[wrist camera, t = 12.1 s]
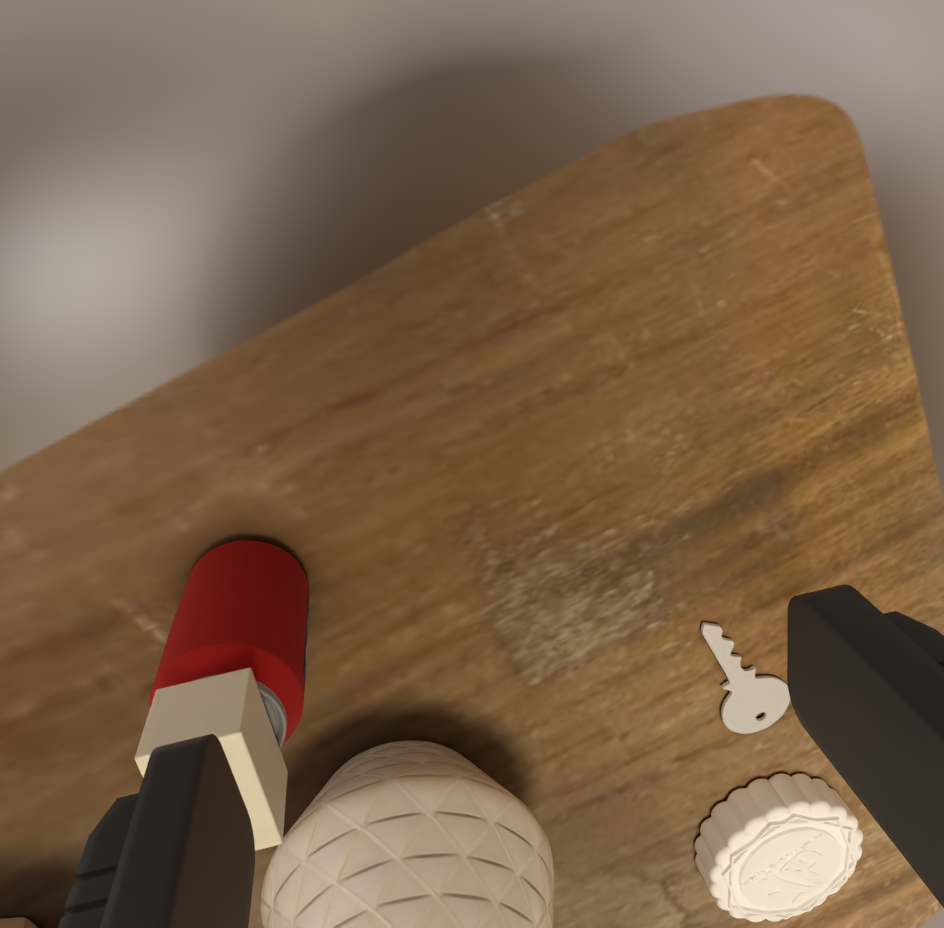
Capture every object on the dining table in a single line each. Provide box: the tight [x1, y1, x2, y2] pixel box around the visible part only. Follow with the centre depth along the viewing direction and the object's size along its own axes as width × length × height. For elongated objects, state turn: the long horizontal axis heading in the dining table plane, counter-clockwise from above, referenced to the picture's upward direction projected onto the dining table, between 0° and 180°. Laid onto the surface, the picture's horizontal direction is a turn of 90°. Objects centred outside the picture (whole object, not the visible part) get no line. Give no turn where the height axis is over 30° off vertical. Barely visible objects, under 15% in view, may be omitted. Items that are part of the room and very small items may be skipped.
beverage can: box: [150, 540, 309, 749], centre depth 40 cm, size 7×7×12 cm
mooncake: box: [695, 773, 863, 922], centre depth 59 cm, size 12×12×4 cm
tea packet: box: [135, 668, 288, 851], centre depth 32 cm, size 6×4×4 cm, turn 10°
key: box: [701, 622, 790, 733], centre depth 53 cm, size 11×1×5 cm
